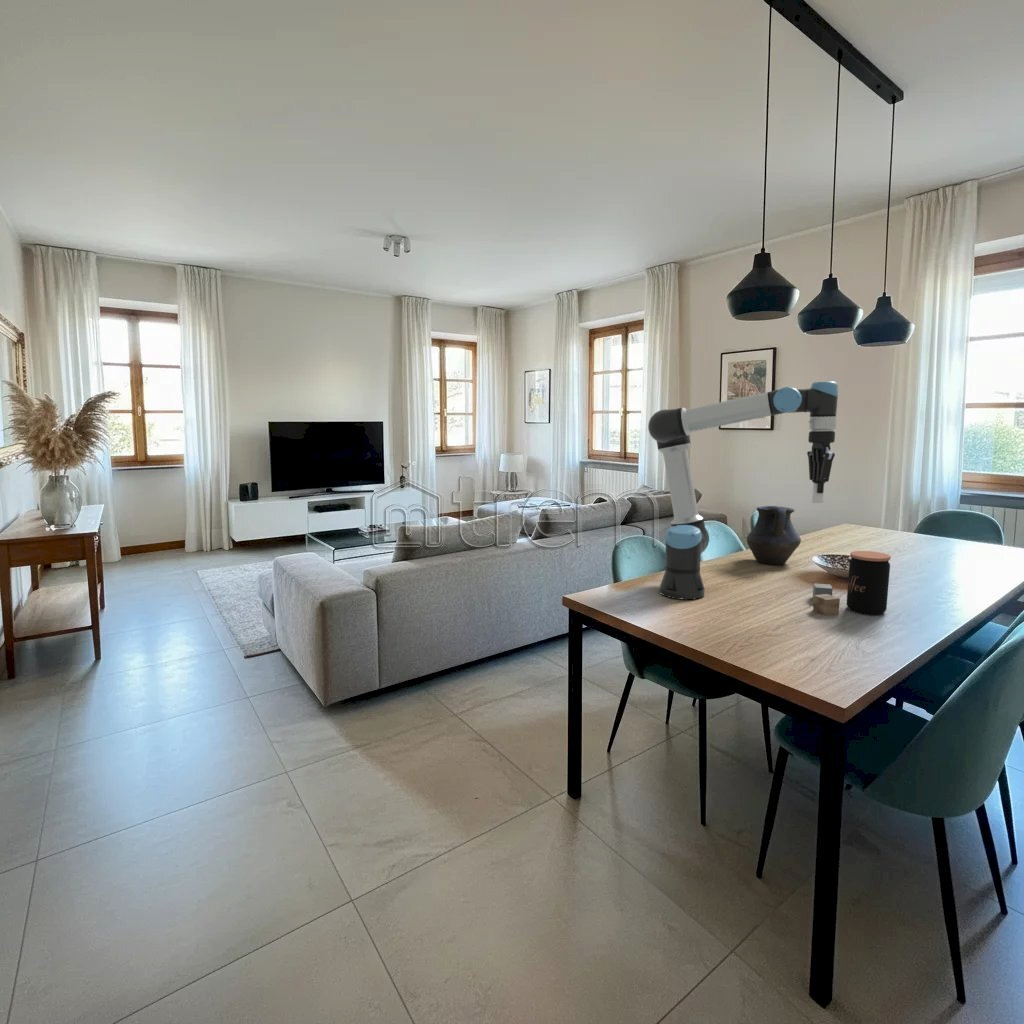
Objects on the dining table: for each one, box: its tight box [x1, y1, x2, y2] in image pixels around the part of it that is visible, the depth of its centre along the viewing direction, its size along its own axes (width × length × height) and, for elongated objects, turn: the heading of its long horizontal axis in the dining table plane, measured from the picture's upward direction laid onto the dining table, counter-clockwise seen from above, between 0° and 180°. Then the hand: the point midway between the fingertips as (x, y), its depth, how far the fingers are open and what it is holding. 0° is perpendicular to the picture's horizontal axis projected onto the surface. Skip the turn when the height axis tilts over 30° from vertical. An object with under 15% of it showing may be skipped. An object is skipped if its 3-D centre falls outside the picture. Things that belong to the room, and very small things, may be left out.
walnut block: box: [812, 594, 841, 616], centre depth 178 cm, size 5×5×5 cm
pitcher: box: [746, 505, 802, 566], centre depth 240 cm, size 21×22×25 cm
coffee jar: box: [846, 550, 892, 616], centre depth 178 cm, size 11×11×18 cm
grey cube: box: [812, 583, 834, 600], centre depth 190 cm, size 5×5×5 cm
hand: (817, 502), depth 188 cm, fingers closed
